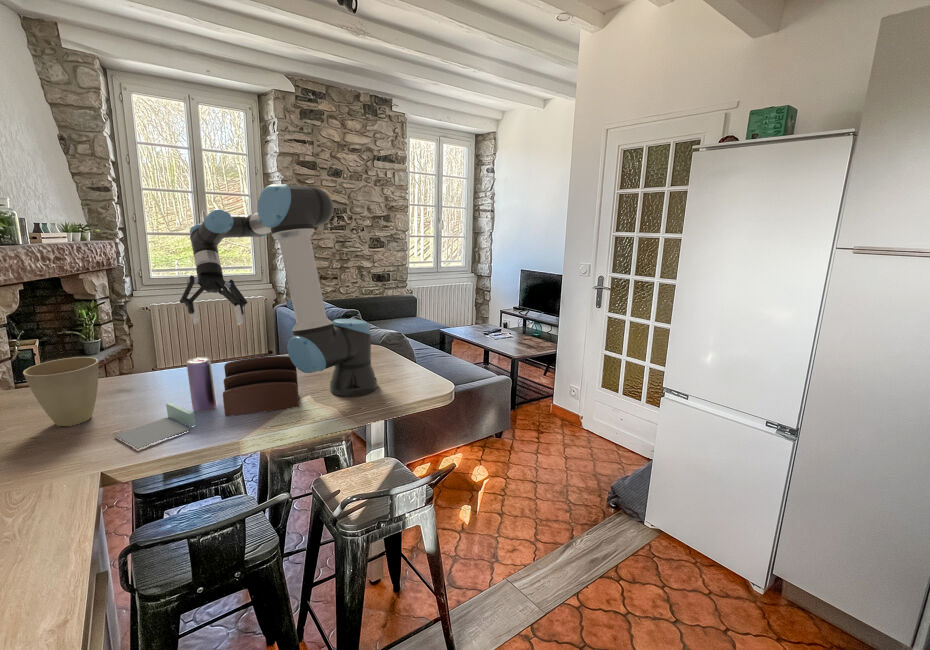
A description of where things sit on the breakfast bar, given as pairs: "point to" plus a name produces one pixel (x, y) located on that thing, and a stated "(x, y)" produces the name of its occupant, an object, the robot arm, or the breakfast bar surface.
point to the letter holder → (260, 385)
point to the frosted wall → (180, 414)
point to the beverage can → (201, 384)
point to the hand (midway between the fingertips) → (219, 323)
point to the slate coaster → (151, 433)
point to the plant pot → (65, 388)
